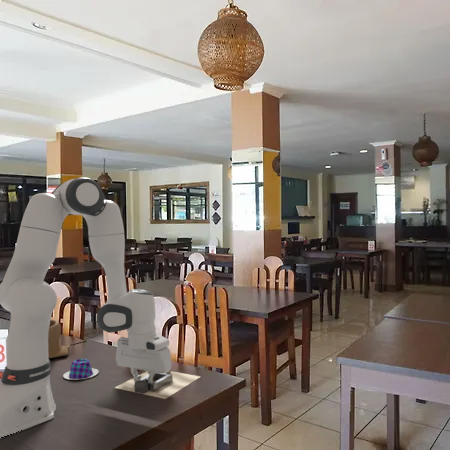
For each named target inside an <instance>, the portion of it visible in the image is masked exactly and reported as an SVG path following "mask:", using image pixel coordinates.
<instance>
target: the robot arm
mask: <svg viewBox="0 0 450 450" xmlns="http://www.w3.org/2000/svg"><path fill="white" fill-rule="evenodd" d="M67 216H82V217H83V218H84V220H85V222H86V225H87V230H88V231H87V232H88V242H89V249H90V252H91V255H92V257H93V259H94V260H95V261H96V262H98V263H99V264H100V265H101V266H102V268H103V271H104V272H105V277H106V278H105V279H106V284H107V285H106V286H107V287H106V288H107V294H108V295H107V300H106V302H105V303H104V304H103V305H102V306H101V307H100V308H99V309H98V311H97V313H96V323H97V326H98V327H99V328H100V329H101V330H102V331H104V332H106V333H116V332H121V331H125V330H126V331H127V330H128V333H127V337H125V336H121V337H120V338H118V340H117V343H116V345H117V347H116V350H115V351H116V353H115V363H116V365H117V366H119V367H124V368H130V373H131V374H132V376H133V378H134V382H136V381H138V380H139V379H141V375H140V374H139V372H138V370H139V371H140V370H141V371H144V372H146V371H148V374H150V375H149V377H148V378H146V382H151V383H153V377H154V375H155V373H161V374H165V373H167V372H168V371H170V369H171V370H172V354H171V350H170V348H169V345H170V340H169V339H168V338H166V337H164V336H163V335H161V334H159V333H158V332H157V328H156V325H155V320H156V304H155V298H154V297H155V296H154V295H153V294H152V292H151V291H149V290H147V289H143V288H133V289H130V290H129V291H128V288H127V287H128V286H127V281H126V280H127V279H126V271H125V249H126V248H125V247H126V246H125V245H126V244H125V243H126V240H125V228H124V221H123V217H122V213H121V209H120V207H119V205H118V203H116V202H115V201H114V200H113V201H112V200H110V199H109V200H108V199H107V197H106V195H105V194H104V192H103V190H102V188H101V185H99V184H98V182H97V181H95V180H94V179H92V178H89V177H82V176H81V177H76V178H71V179H69V180H66V181H64V182H62V183H61V184H59V185H58V186H57V187H56V188H55V189H54V190H53V191H52V192H51V193H48V192H41V193H36V194H34V195H32V197H31V198H30V199H29V201H28V203H27V206H26V208H25V211H24V213H23V216H22V220H21V222H20V227H19V232H18V235H17V240H16V245H15V248H14V251H13V255H12V257H11V260H10V263H9V265H8V267H7V270H6V272H5V274H4V277H3V280H2V281H1V282H0V306H1V307H2V308H3V309H4V310H6V311H8V312H10V323H9V328H8V334H7V335H6V338H5V349H6V350H5V355H6V356H5V360H6V366H5V367H4V369H3V371H0V439H2V438H1V437H4V436H7V435H9V436H11V435H10V434H12V435H14V434H17V433H19V432H22V431H24V430H27V429H30V428H32V427H34V426H37V425H40V424H42V423H45V422H48V421H50V420H52V419H54V418H55V412H56V410H57V405H56V403H55V400H54V397H53V396H54V395H53V392H52V385H51V379H50V375H51V371H52V370H51V360H50V358H49V359H48V331H49V325H50V320H52V313H53V312H54V310H55V309H56V307H57V303H58V295H57V292H56V291H55V290H54V288H53V287H52V286H51V285H50V284H49V283H48V282H46V281H45V277H46V274H47V272H48V271H49V268H50V267H51V265H52V264H53V263H54V262H55V259H56V256H57V252H58V247H59V241H60V237H61V233H62V227H63V226H62V225H63V223H64V221H65V219H66V217H67ZM21 430H22V431H21ZM18 431H19V432H18ZM16 432H17V433H16ZM13 433H14V434H13ZM7 437H8V436H7ZM4 438H5V437H4Z"/></svg>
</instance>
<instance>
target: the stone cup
mask: <svg viewBox="0 0 450 450" xmlns="http://www.w3.org/2000/svg"><path fill="white" fill-rule="evenodd" d="M61 331H62V329H61V323H60V322H59V321H58V320H56V319H51V320H50V325H49V331H48V359H49V360H50V359H53V358H59V357H64V356H68V355H69V354H70V351H71V344H65V345H60V340H61Z"/></svg>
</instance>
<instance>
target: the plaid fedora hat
mask: <svg viewBox="0 0 450 450" xmlns="http://www.w3.org/2000/svg"><path fill="white" fill-rule="evenodd" d="M91 365H92V364H91V361H90V360H89V359H87V358H79V359H75V360H73V361H72V362H71V365H70V368H69V369H70V370H68V371H67V372H65V373H63V375H62V377H63V378H64V379H66V380H71V381H78V380H86V379H91V378H92V377H94V376H97V375H98V374H99V372H100V371H99V369H96V368H95V367H94V368H93V367H92V366H91Z"/></svg>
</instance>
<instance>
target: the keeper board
mask: <svg viewBox="0 0 450 450" xmlns="http://www.w3.org/2000/svg"><path fill="white" fill-rule="evenodd" d="M167 373H168V374H172V379H173V381H172V382H170V383H168V384H167V385H165V386H163V387H161V388H160V389H158V390H156V391H155V392H152V391H148V382H146V381H141V380H138V381H136V382H134V377H133V378H131V379H129V380H126V381H125V382H123V383H121V384H119V385H117V386H115V387H114V388H115V389H119V390H121V391H122V390H123V391H128V392H133V393H135V394H136V393H137V394H142V395H145V396H150V397H154V398H159V399H162V400H163V399H164V400H166V399H168V398H170V397H171V396H172V395H174V394H176V393H177V392H179V391H181V390H183V389H184V388H185V387H187V386H188V385H190V384H191V383H193V382H195V381H196V380H198V379H200V378H201V376H199V375H194V374H188V373H183V372H179V371H177V372H176V371H172V368H171V369H170V371H168V372H167ZM139 375H141V378H143V377H145V376H147V375H149V374H148V371H144V372H142V373H140V374H139ZM156 381H157V380H154V381H153V383H154V382H156Z"/></svg>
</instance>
